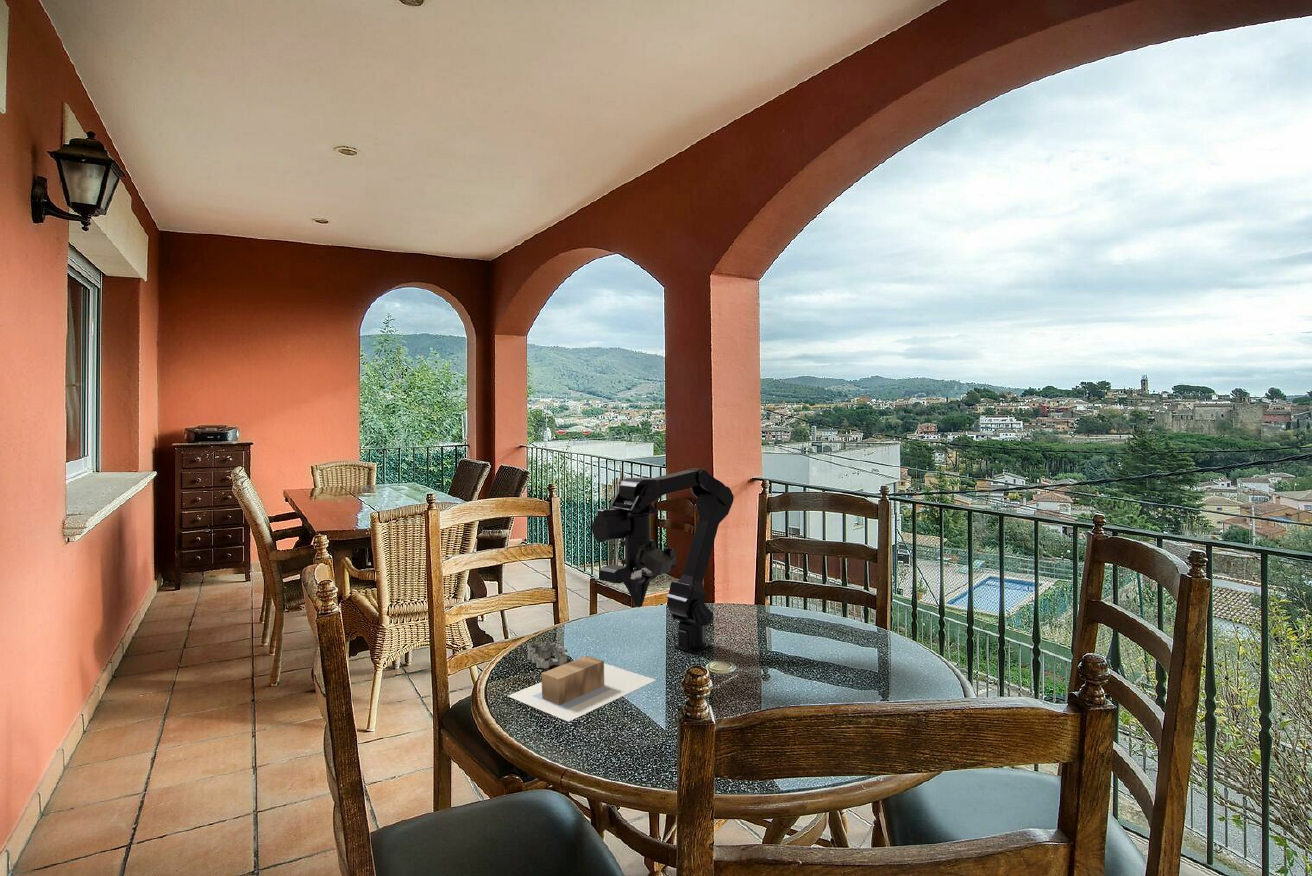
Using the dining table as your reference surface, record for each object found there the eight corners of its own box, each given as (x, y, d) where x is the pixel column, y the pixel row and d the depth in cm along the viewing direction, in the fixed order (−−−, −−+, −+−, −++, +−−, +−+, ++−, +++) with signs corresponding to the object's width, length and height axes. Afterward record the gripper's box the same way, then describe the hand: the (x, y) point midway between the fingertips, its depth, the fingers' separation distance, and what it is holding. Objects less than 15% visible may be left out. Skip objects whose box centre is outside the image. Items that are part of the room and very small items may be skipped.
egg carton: (569, 668, 151) (569, 650, 151) (535, 674, 148) (535, 655, 148) (557, 652, 161) (557, 635, 161) (525, 657, 158) (525, 640, 158)
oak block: (586, 655, 142) (541, 673, 133) (603, 661, 139) (558, 679, 130) (587, 679, 142) (542, 698, 133) (604, 685, 139) (559, 705, 130)
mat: (595, 662, 153) (595, 660, 153) (656, 682, 141) (656, 680, 141) (507, 698, 135) (507, 695, 135) (568, 724, 123) (568, 721, 123)
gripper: (635, 547, 137) (637, 624, 138) (693, 533, 151) (694, 603, 152) (596, 540, 145) (598, 614, 145) (655, 528, 159) (656, 595, 159)
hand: (638, 606), depth 150 cm, fingers closed
